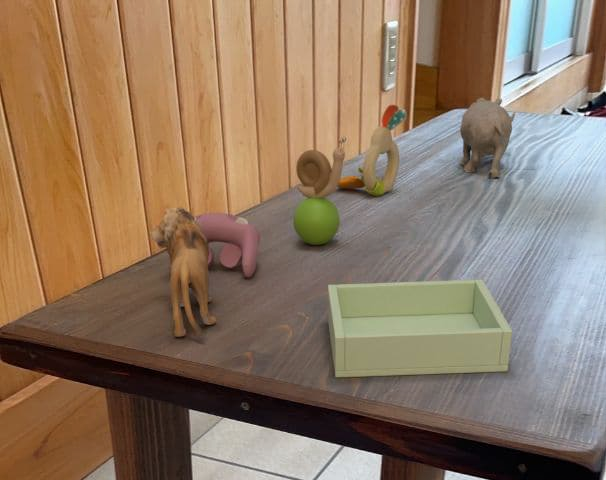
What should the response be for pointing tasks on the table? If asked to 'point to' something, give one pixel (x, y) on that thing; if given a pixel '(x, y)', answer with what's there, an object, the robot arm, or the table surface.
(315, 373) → the table surface
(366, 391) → the table surface
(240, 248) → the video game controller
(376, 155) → the rattle
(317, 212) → the snail figurine
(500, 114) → the rhinoceros figurine
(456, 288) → the tray
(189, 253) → the lion figurine
